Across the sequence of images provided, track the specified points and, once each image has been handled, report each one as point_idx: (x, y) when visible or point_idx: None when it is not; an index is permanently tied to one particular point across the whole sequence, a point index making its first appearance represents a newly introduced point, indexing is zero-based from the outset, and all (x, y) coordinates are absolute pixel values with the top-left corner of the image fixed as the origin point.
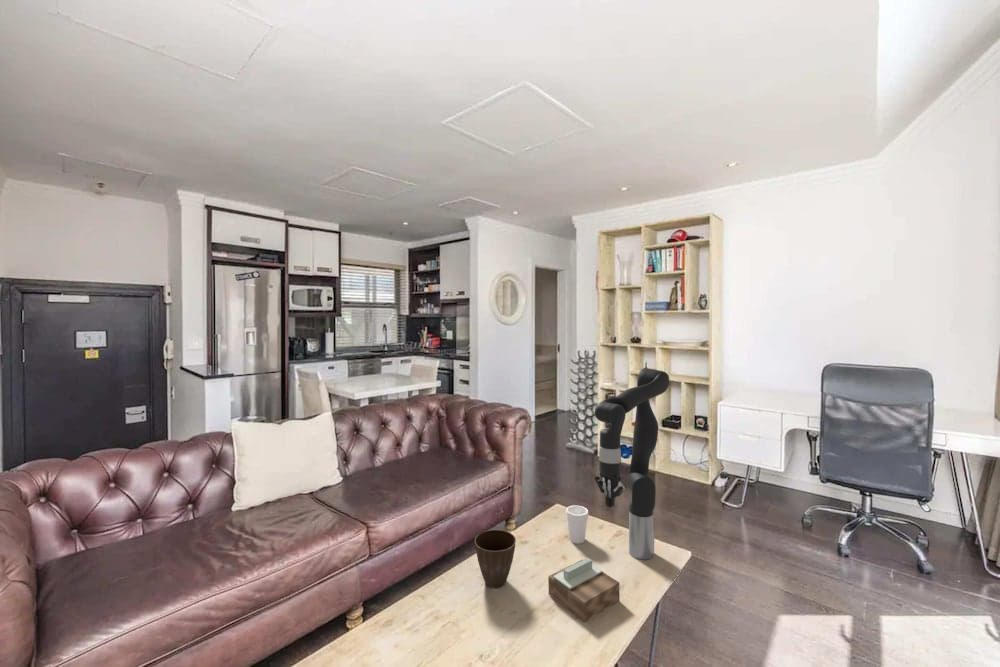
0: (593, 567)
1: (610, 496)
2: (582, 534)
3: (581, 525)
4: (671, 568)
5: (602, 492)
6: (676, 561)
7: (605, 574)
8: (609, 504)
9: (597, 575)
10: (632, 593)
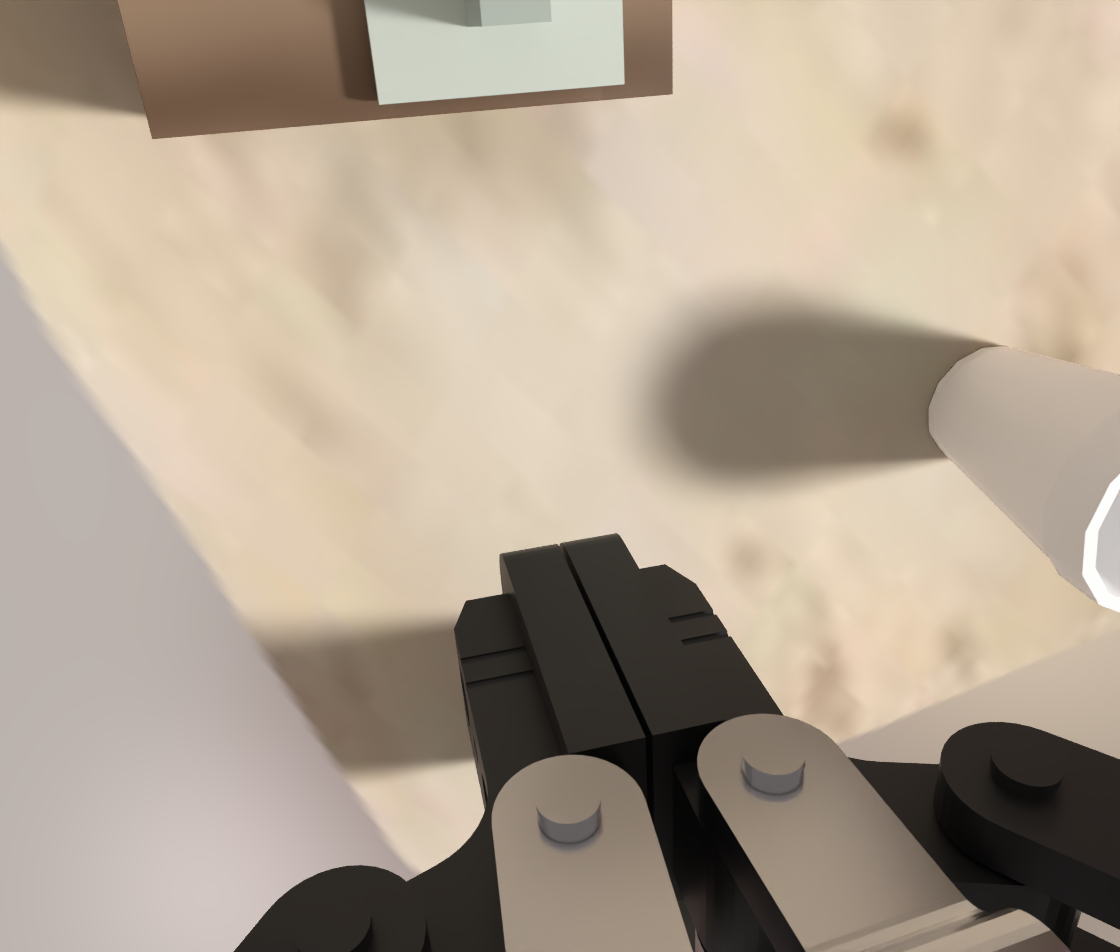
0: (472, 54)
1: (517, 830)
2: (969, 434)
3: (1027, 455)
4: (333, 740)
5: (967, 747)
6: (378, 811)
7: (341, 111)
8: (516, 601)
9: (365, 13)
10: (220, 299)
